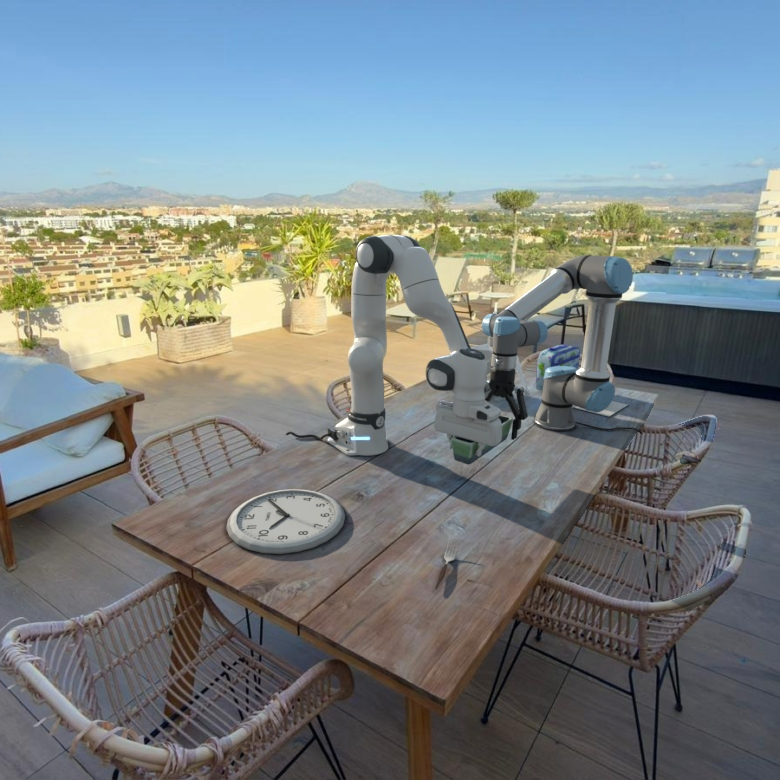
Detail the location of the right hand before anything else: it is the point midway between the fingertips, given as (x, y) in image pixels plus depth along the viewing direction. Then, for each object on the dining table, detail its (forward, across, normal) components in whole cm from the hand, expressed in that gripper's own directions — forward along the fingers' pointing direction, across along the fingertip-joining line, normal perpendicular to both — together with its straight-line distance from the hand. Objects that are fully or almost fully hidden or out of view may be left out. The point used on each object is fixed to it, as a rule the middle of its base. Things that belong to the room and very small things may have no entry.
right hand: (497, 434), depth 168 cm
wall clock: (+10, -27, -66) cm, 72 cm away
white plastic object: (+10, -40, +65) cm, 77 cm away
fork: (+10, +16, -58) cm, 61 cm away
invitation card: (+10, +11, +81) cm, 82 cm away
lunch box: (+10, -14, +93) cm, 95 cm away
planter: (+2, 0, -10) cm, 11 cm away
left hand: (-1, 0, -21) cm, 21 cm away
